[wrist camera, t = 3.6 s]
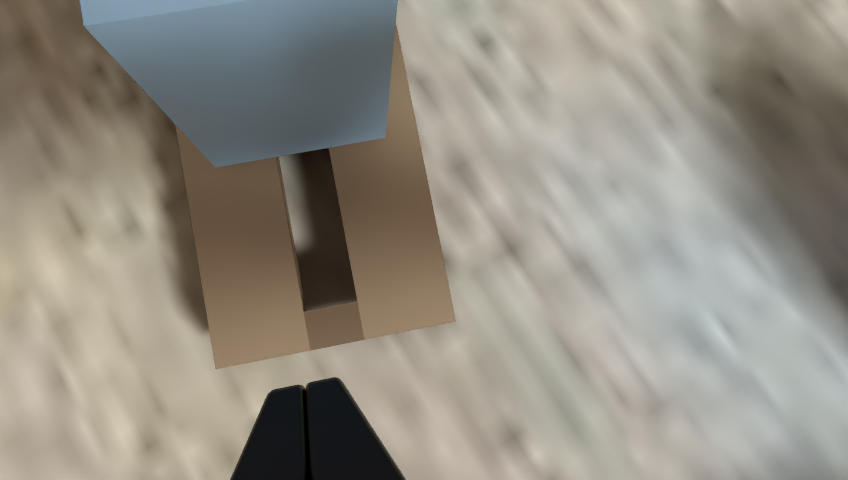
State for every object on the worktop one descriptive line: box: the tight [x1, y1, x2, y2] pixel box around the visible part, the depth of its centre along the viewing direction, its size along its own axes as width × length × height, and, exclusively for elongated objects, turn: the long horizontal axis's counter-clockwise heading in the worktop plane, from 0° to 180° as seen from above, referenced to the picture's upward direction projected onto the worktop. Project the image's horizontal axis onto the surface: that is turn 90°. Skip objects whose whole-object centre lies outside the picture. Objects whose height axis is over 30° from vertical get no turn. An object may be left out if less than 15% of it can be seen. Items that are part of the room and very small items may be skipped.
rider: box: [80, 0, 398, 167], centre depth 16 cm, size 4×4×10 cm
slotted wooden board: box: [175, 24, 456, 369], centre depth 21 cm, size 18×6×2 cm, turn 11°
